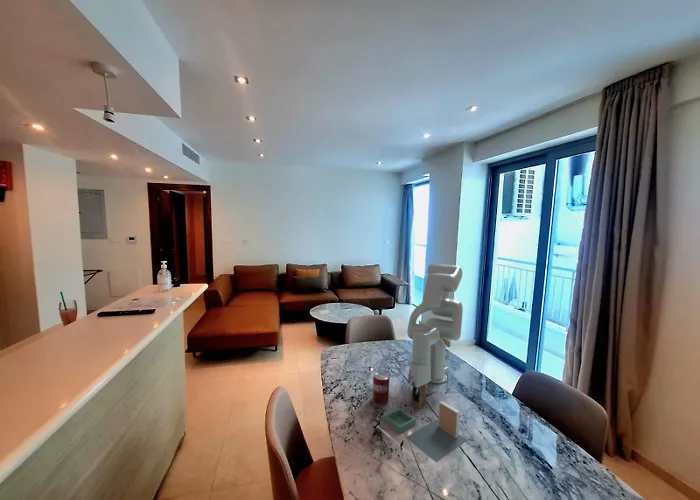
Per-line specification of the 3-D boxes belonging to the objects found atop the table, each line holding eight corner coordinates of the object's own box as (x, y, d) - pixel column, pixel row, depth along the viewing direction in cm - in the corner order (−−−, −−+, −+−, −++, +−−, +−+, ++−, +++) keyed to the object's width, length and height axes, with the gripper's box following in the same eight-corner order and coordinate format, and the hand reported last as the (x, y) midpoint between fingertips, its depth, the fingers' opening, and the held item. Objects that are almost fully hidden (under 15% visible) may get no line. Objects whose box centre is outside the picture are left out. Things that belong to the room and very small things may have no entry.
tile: (440, 424, 117) (441, 400, 116) (458, 436, 110) (459, 411, 109) (438, 426, 116) (439, 402, 115) (455, 438, 109) (457, 412, 108)
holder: (399, 414, 123) (399, 408, 123) (415, 426, 116) (415, 419, 116) (384, 422, 118) (384, 415, 118) (399, 434, 111) (400, 427, 111)
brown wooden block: (418, 402, 133) (419, 376, 132) (425, 406, 129) (426, 380, 128) (412, 405, 130) (413, 379, 129) (419, 409, 127) (420, 383, 126)
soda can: (388, 407, 128) (388, 381, 127) (371, 405, 130) (372, 378, 129) (389, 397, 135) (389, 372, 134) (373, 395, 137) (374, 371, 136)
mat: (436, 420, 120) (436, 419, 120) (467, 441, 108) (467, 440, 108) (405, 438, 109) (405, 437, 109) (436, 463, 98) (436, 462, 98)
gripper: (426, 351, 136) (424, 389, 137) (401, 360, 126) (399, 401, 128) (440, 357, 130) (438, 397, 131) (414, 367, 120) (412, 410, 122)
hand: (419, 398), depth 129 cm, fingers closed on brown wooden block, 4 cm apart
